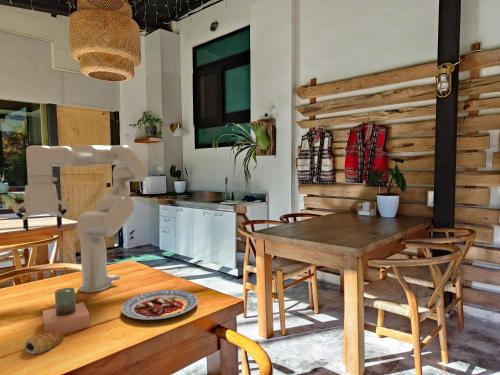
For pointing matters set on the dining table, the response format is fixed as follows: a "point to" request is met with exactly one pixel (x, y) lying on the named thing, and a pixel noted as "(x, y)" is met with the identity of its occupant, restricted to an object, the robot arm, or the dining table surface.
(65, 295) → the tea tin
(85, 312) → the terracotta stand
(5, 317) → the dining table surface
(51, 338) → the pastry
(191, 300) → the ceramic plate
